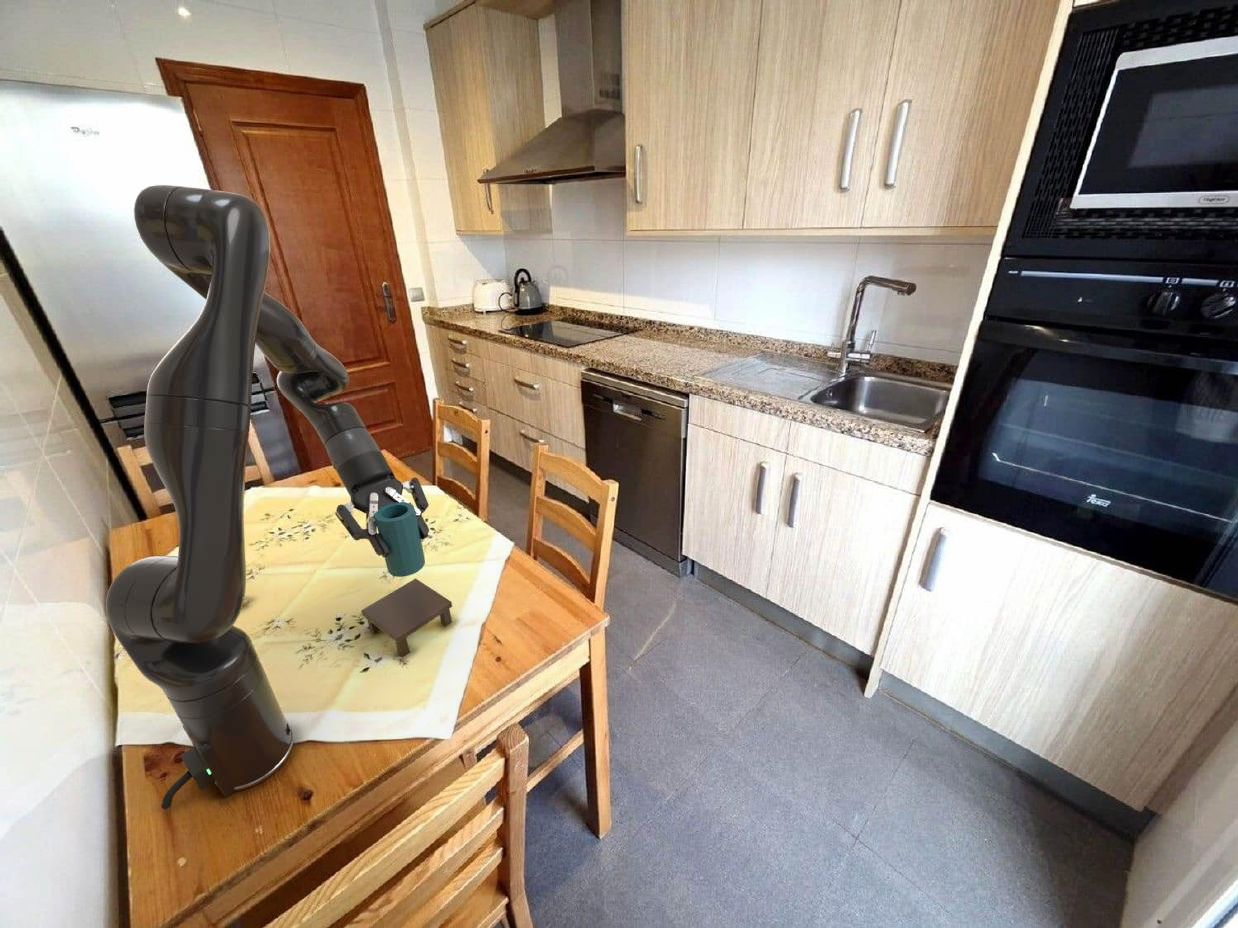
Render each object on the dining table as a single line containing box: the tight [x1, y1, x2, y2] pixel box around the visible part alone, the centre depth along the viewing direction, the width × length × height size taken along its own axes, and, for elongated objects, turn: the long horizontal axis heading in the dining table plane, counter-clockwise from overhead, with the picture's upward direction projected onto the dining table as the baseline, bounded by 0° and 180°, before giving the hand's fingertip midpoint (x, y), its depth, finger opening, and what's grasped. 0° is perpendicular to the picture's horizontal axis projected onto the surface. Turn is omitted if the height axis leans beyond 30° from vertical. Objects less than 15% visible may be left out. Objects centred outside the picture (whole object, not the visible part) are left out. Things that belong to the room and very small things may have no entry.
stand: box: [360, 578, 453, 658], centre depth 91 cm, size 11×11×5 cm
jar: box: [374, 502, 426, 578], centre depth 84 cm, size 6×6×11 cm
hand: (406, 546), depth 83 cm, fingers closed on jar, 6 cm apart
